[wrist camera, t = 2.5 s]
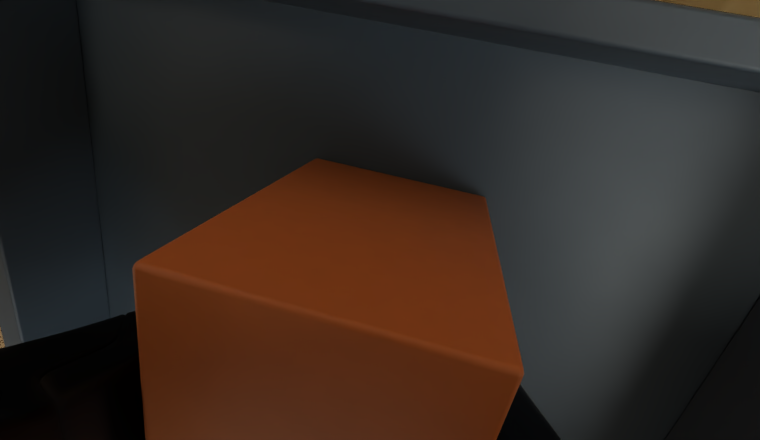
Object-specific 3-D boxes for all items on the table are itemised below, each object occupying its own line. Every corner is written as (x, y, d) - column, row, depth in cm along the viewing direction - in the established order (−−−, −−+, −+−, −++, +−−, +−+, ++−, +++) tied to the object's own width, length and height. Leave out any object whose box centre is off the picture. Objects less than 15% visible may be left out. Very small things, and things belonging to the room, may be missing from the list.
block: (487, 196, 8) (528, 373, 3) (425, 395, 11) (396, 679, 6) (315, 156, 9) (127, 261, 4) (291, 356, 11) (154, 586, 6)
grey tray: (915, 85, 7) (1215, 90, 4) (610, 533, 12) (655, 667, 9) (63, -66, 9) (-114, -128, 6) (112, 375, 14) (28, 448, 11)
